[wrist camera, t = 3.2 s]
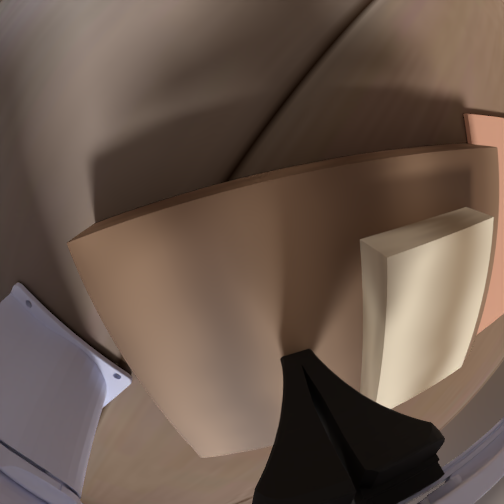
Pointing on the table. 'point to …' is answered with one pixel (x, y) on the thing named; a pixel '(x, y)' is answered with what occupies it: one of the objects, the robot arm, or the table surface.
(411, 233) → the birch tile
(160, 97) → the table surface
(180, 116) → the table surface
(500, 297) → the terracotta mat
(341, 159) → the walnut board
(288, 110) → the table surface
